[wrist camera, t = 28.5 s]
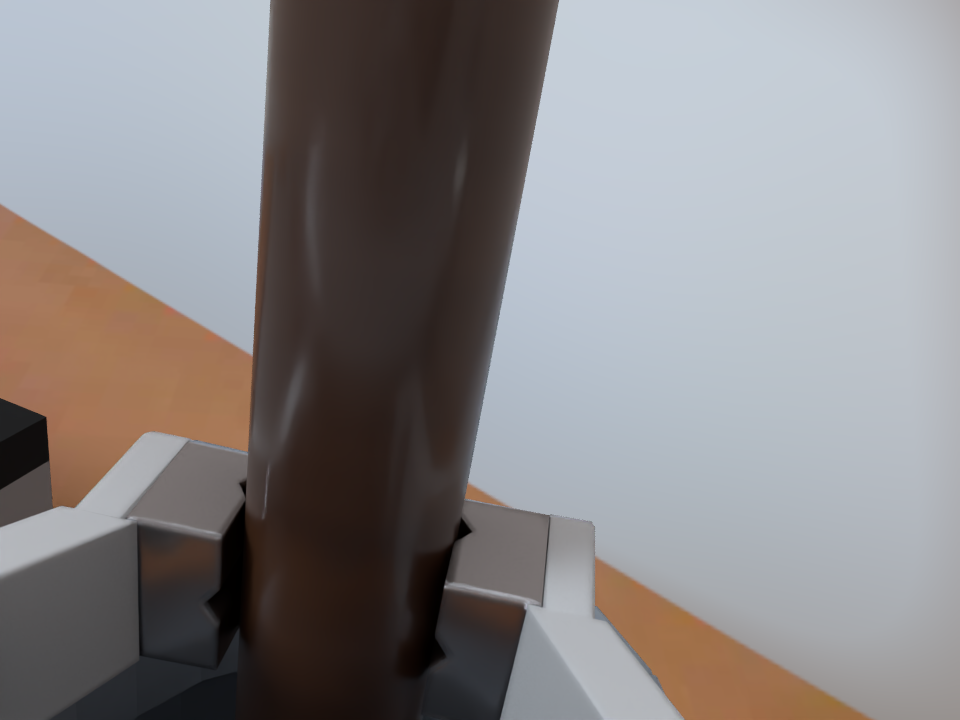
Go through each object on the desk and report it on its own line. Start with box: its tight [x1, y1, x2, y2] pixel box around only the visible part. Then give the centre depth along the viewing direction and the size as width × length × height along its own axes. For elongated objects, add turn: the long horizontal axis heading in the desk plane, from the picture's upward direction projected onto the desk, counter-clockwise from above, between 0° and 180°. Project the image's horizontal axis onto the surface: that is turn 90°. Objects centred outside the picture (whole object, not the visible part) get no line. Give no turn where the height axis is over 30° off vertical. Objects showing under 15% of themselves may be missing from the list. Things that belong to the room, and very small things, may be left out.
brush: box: [235, 0, 559, 720], centre depth 10 cm, size 3×3×18 cm
